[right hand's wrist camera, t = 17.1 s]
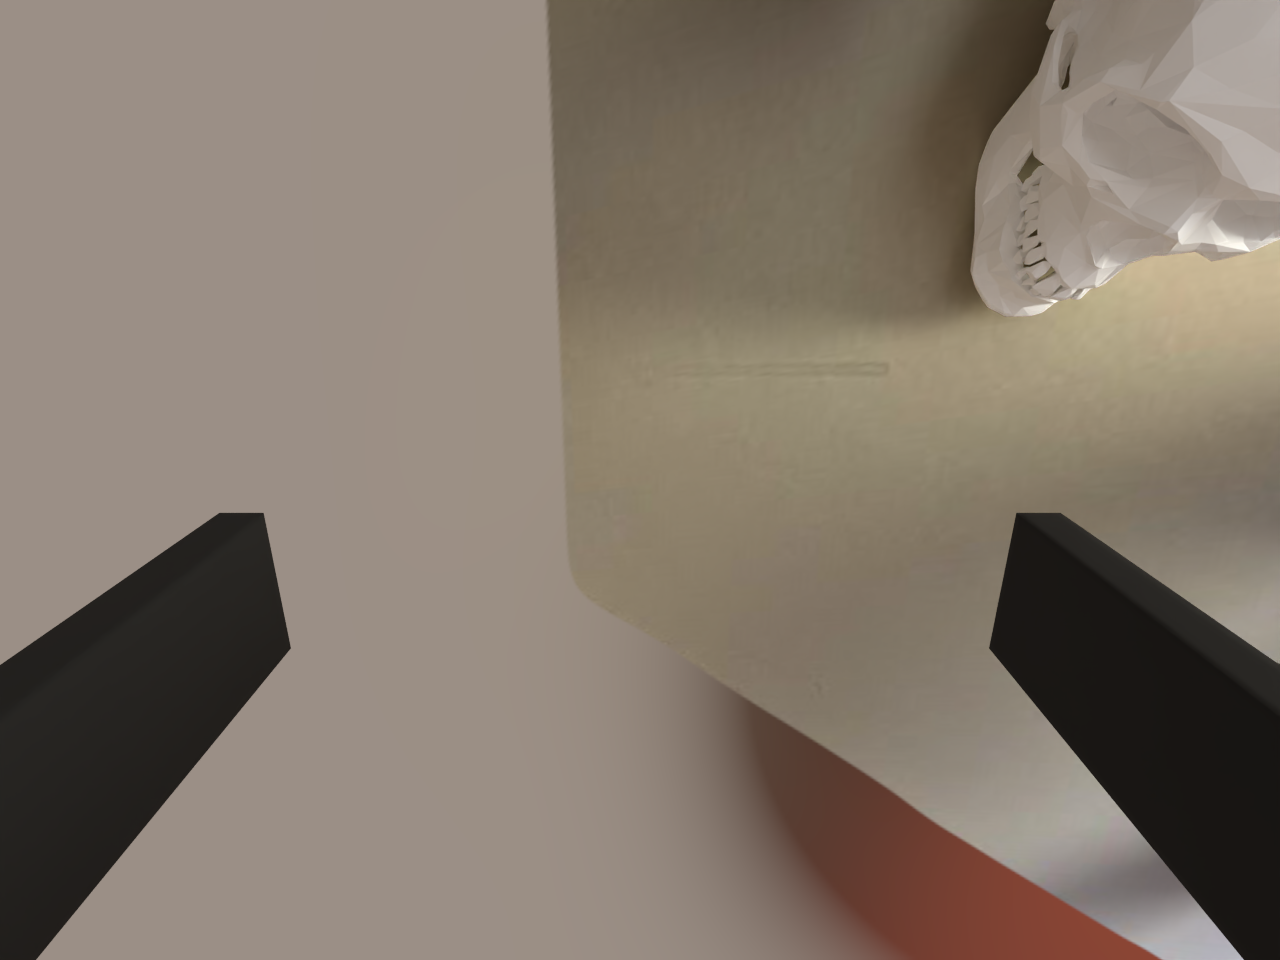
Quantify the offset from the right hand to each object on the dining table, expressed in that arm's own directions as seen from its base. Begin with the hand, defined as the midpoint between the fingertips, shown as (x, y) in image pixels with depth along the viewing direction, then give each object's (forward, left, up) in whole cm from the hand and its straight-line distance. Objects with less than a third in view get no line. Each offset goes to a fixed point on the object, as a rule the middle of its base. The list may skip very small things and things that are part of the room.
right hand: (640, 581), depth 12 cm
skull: (-22, +14, -29) cm, 39 cm away
